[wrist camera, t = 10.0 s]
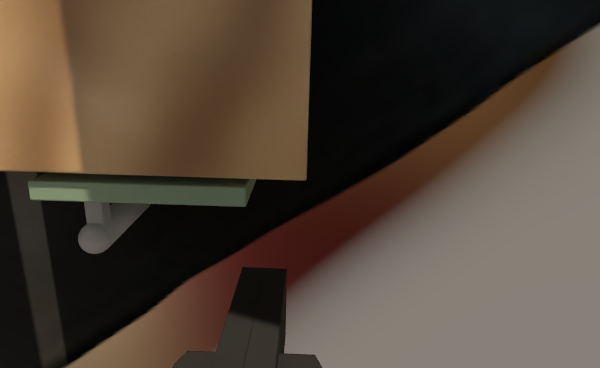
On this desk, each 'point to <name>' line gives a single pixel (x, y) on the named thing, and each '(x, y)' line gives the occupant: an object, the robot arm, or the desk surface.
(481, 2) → the desk surface
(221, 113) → the cabinet
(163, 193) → the sliding door
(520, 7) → the desk surface
